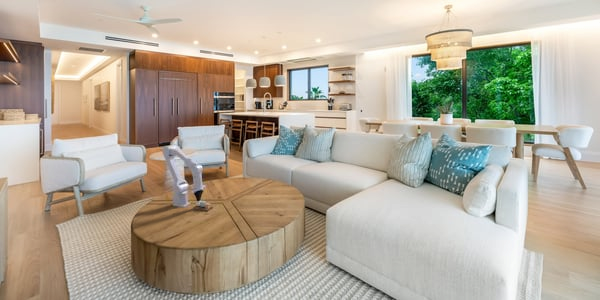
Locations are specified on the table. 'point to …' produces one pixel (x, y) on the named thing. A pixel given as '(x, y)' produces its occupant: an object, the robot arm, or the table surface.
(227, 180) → the table surface
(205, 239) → the table surface
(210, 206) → the key terracotta
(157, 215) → the table surface
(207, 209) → the brown flat frame
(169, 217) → the table surface
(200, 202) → the key slate
